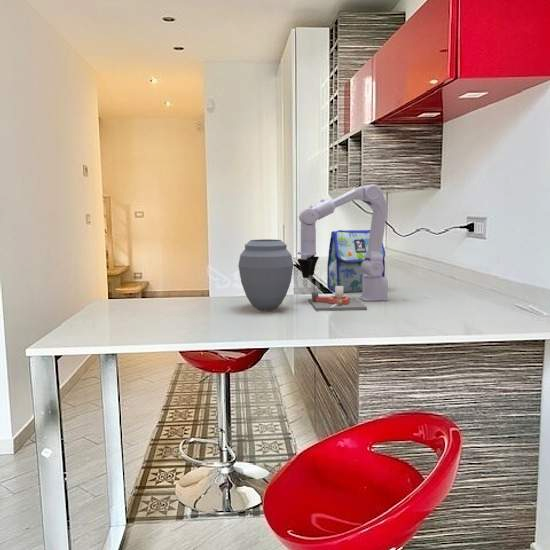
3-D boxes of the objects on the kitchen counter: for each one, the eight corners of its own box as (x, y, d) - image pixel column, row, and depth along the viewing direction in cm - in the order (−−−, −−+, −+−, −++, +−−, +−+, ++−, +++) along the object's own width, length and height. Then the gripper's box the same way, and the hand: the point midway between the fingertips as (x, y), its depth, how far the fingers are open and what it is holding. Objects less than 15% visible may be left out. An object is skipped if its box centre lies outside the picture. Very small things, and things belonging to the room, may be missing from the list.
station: (354, 300, 206) (355, 282, 205) (366, 309, 187) (367, 290, 186) (308, 301, 205) (308, 283, 204) (316, 310, 186) (316, 291, 185)
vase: (301, 305, 196) (301, 239, 193) (279, 315, 178) (279, 242, 175) (254, 302, 204) (253, 238, 201) (228, 311, 186) (227, 241, 183)
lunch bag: (338, 294, 220) (338, 231, 217) (325, 288, 236) (325, 229, 233) (387, 292, 225) (389, 230, 222) (371, 286, 241) (372, 228, 238)
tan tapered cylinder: (341, 305, 191) (341, 299, 191) (342, 306, 189) (342, 300, 189) (336, 305, 191) (337, 299, 191) (337, 306, 189) (337, 300, 189)
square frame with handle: (349, 300, 198) (349, 292, 198) (347, 304, 192) (347, 295, 191) (313, 299, 202) (313, 291, 202) (309, 302, 195) (310, 294, 195)
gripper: (302, 239, 209) (302, 273, 211) (292, 242, 196) (293, 278, 198) (320, 239, 207) (320, 274, 209) (311, 242, 194) (311, 279, 195)
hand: (308, 276), depth 203 cm, fingers open, 7 cm apart
